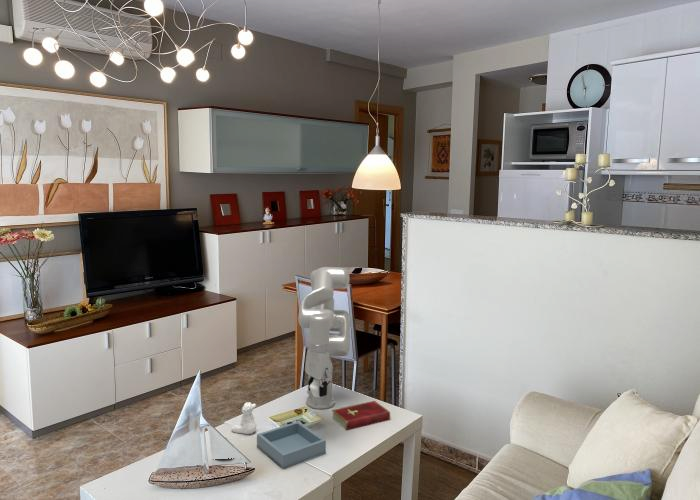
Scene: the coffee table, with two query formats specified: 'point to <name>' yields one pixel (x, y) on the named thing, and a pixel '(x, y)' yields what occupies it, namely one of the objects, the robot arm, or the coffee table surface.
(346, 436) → the coffee table surface
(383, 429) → the coffee table surface
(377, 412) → the hardcover book
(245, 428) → the white creature statuette
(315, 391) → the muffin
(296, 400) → the coffee table surface
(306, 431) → the bin
